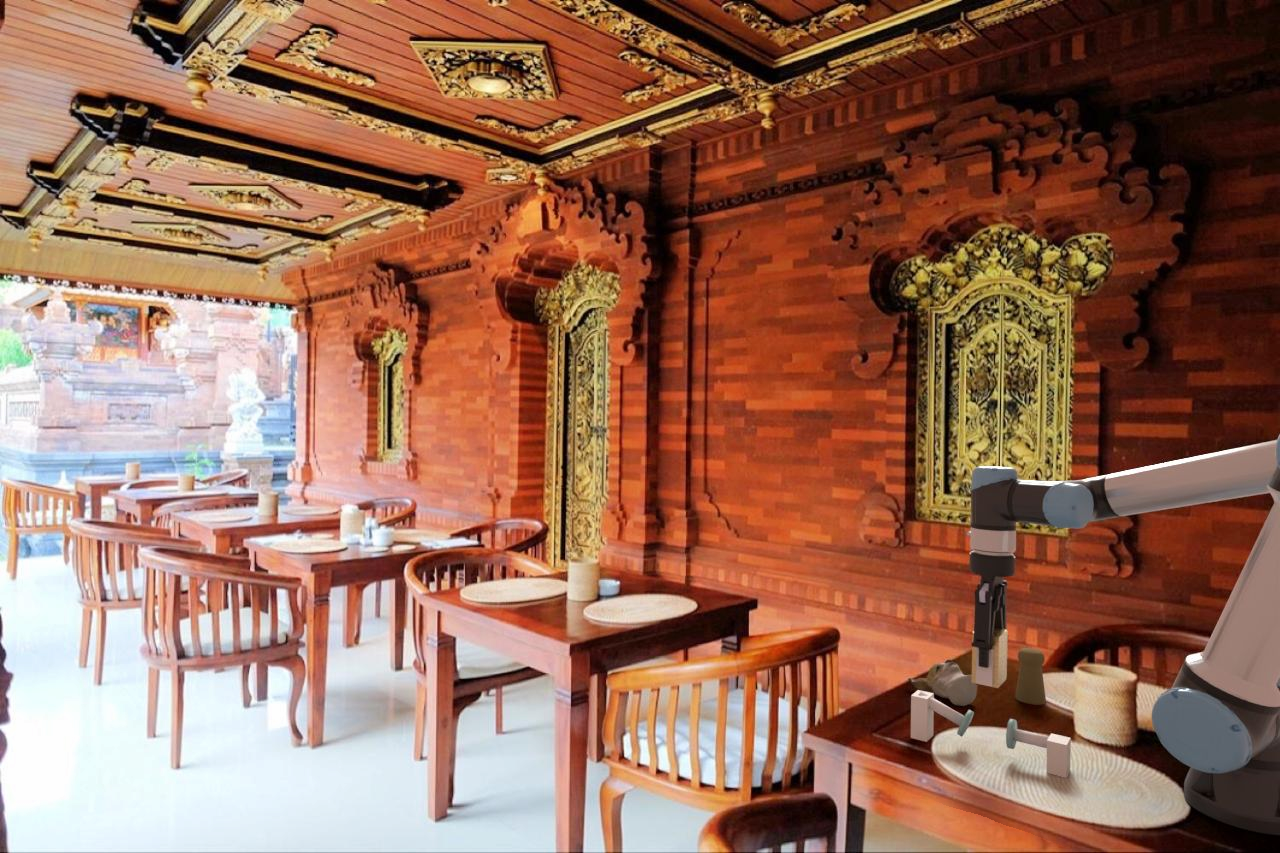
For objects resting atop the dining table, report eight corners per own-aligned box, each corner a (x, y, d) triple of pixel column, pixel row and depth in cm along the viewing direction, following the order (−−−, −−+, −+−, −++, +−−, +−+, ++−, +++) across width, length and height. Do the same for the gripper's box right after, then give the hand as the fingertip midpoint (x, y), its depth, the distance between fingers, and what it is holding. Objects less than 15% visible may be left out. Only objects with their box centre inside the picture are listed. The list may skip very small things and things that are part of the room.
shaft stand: (1070, 768, 132) (1071, 719, 132) (1065, 778, 128) (1066, 728, 128) (918, 730, 148) (918, 686, 148) (909, 738, 144) (910, 693, 144)
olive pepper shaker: (1008, 696, 167) (1009, 646, 167) (1027, 693, 170) (1028, 644, 170) (1033, 706, 162) (1034, 654, 162) (1052, 702, 164) (1053, 651, 164)
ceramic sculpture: (950, 669, 158) (905, 653, 172) (950, 712, 157) (905, 692, 172) (992, 666, 161) (944, 650, 175) (993, 707, 161) (945, 688, 175)
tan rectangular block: (971, 682, 136) (972, 632, 136) (980, 673, 141) (982, 625, 141) (997, 688, 134) (999, 637, 134) (1006, 679, 139) (1007, 629, 139)
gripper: (983, 543, 147) (981, 662, 148) (955, 556, 132) (952, 688, 132) (1026, 548, 143) (1023, 670, 143) (1002, 561, 128) (999, 698, 128)
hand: (989, 679), depth 138 cm, fingers closed on tan rectangular block, 6 cm apart
